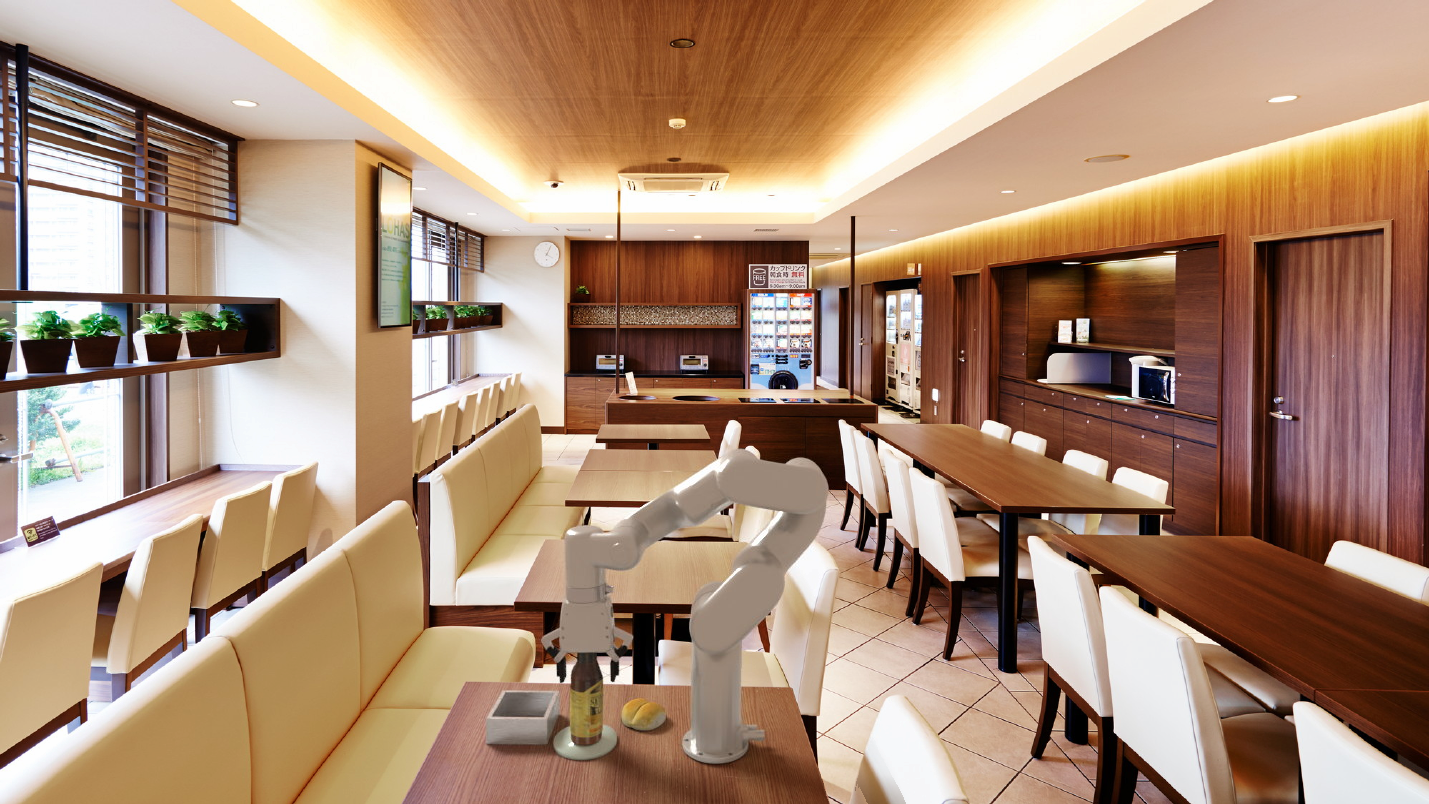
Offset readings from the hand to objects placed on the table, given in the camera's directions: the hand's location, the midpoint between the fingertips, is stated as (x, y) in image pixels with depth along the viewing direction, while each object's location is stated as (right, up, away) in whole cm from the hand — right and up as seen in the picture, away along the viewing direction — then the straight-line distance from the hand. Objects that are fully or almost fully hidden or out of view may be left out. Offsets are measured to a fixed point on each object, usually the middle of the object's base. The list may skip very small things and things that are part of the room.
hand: (588, 679), depth 141 cm
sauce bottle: (0, -12, +1) cm, 12 cm away
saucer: (-1, -13, +1) cm, 13 cm away
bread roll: (+10, -12, +10) cm, 19 cm away
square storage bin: (-14, -12, +6) cm, 19 cm away
